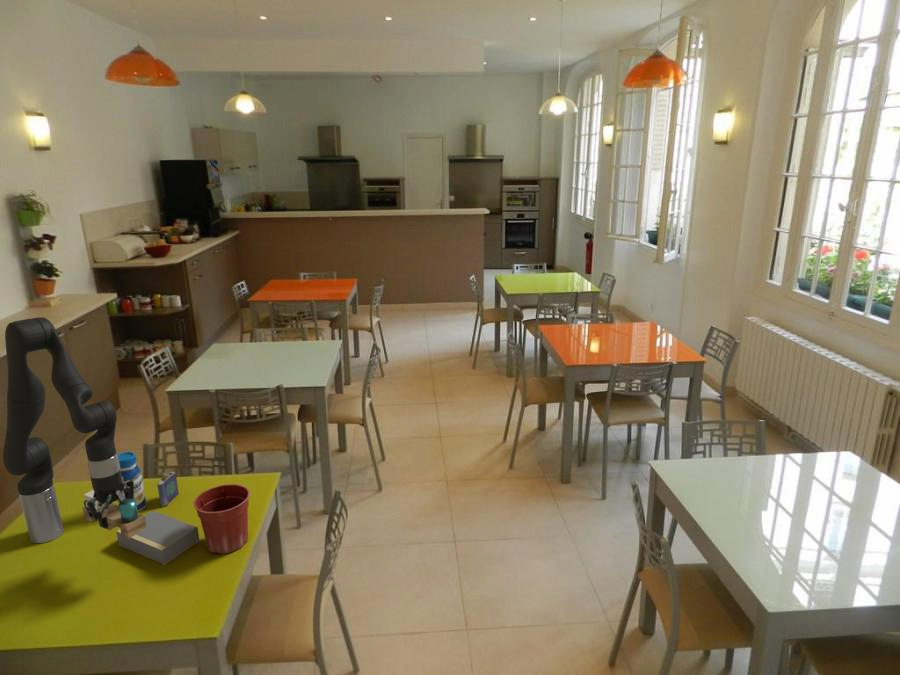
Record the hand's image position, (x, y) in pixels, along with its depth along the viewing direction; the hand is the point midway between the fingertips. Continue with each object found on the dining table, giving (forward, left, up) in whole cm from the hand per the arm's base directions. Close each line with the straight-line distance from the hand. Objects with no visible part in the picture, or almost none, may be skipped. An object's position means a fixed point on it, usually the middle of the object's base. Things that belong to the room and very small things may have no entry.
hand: (115, 521), depth 175 cm
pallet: (0, 0, -1) cm, 1 cm away
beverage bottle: (-26, +22, -15) cm, 37 cm away
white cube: (-8, 0, +3) cm, 8 cm away
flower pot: (+19, +23, -16) cm, 33 cm away
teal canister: (+7, 0, +3) cm, 8 cm away
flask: (-19, +31, -16) cm, 39 cm away
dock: (0, +12, -15) cm, 20 cm away
